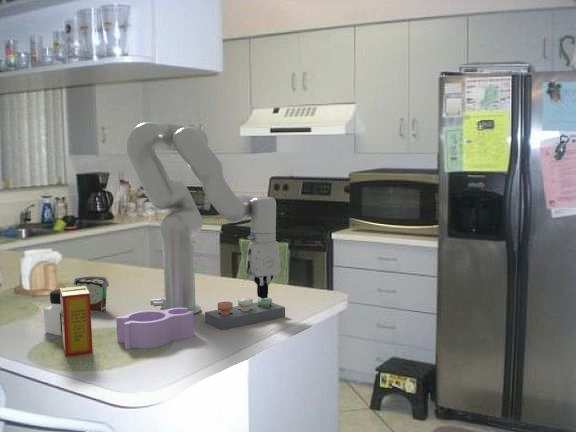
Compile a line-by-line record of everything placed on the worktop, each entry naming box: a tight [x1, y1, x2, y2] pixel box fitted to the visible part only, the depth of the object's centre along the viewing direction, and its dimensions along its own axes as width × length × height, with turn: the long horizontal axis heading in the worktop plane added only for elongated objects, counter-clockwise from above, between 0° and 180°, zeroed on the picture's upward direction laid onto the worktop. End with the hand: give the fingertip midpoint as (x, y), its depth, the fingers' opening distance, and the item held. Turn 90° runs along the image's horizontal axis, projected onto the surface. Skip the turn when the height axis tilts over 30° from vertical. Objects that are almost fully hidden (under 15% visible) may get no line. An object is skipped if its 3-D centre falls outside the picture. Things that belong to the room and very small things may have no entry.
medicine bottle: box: [43, 288, 62, 337], centre depth 187 cm, size 7×7×12 cm
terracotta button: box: [217, 301, 234, 316], centre depth 193 cm, size 4×4×4 cm
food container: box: [73, 275, 110, 314], centre depth 211 cm, size 12×6×10 cm, turn 65°
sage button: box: [257, 297, 273, 308], centre depth 202 cm, size 4×4×4 cm
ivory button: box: [237, 297, 254, 312], centre depth 198 cm, size 4×4×4 cm
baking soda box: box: [59, 286, 94, 358], centre depth 171 cm, size 10×6×16 cm
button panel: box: [204, 301, 286, 331], centre depth 198 cm, size 22×10×3 cm, turn 126°
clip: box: [115, 308, 195, 350], centre depth 180 cm, size 20×12×7 cm, turn 122°
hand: (262, 297), depth 202 cm, fingers closed
